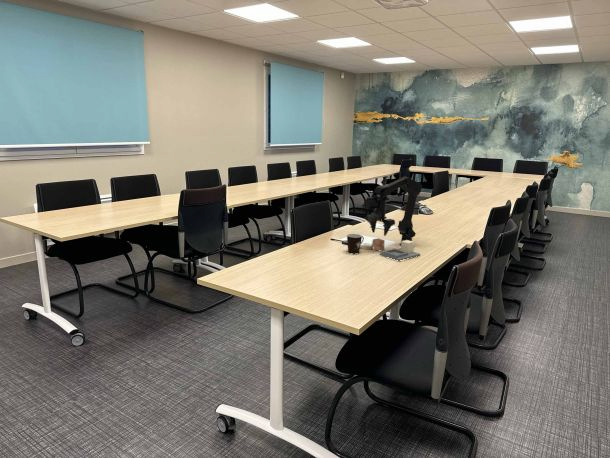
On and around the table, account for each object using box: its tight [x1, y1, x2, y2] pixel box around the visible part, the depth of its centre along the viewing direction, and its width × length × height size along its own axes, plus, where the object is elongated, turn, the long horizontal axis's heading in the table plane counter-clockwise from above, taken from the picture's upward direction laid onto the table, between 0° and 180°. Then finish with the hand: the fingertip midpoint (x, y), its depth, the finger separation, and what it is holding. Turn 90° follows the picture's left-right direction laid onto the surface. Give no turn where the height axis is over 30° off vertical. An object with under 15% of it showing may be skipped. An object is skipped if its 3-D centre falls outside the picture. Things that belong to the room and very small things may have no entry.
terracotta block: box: [371, 238, 386, 252], centre depth 251 cm, size 5×5×6 cm
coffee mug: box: [346, 233, 365, 255], centre depth 244 cm, size 12×9×10 cm
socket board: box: [379, 240, 421, 262], centre depth 239 cm, size 18×14×8 cm
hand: (379, 234), depth 250 cm, fingers open, 9 cm apart
